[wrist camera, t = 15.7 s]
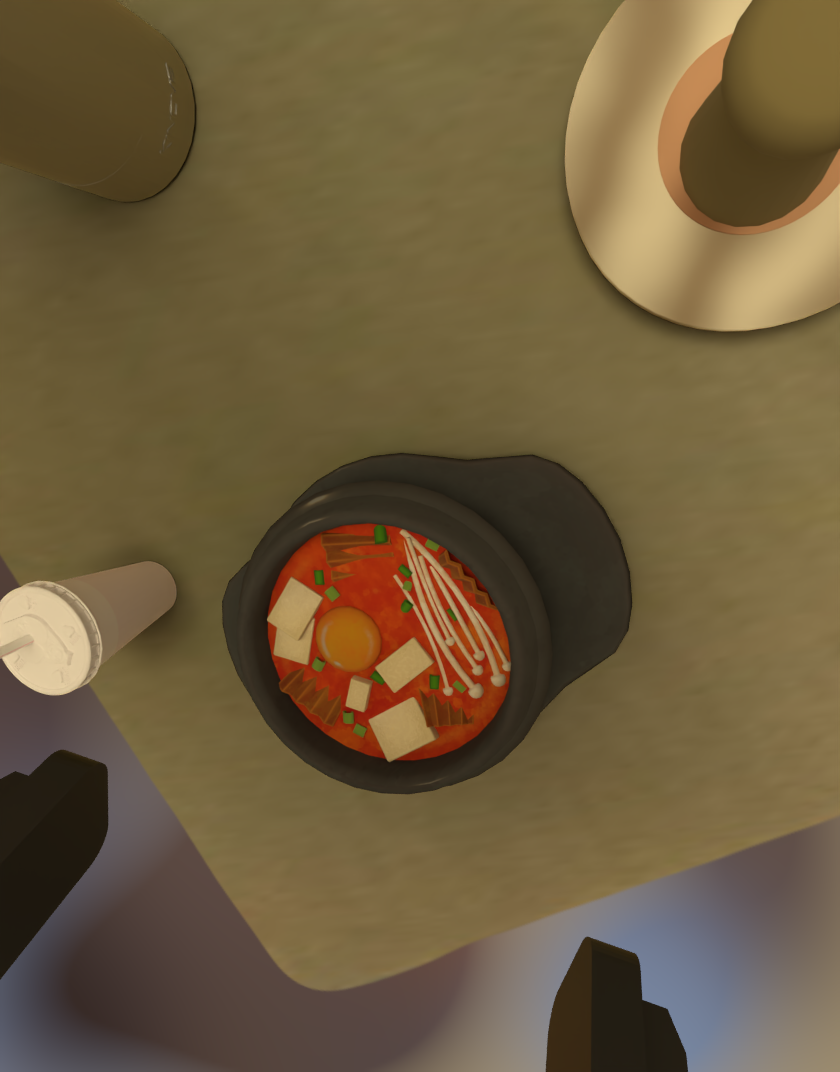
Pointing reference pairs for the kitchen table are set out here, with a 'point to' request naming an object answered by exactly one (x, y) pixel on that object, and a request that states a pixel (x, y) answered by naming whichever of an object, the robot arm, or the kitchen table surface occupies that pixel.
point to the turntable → (657, 189)
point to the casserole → (425, 614)
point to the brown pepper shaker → (768, 115)
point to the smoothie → (79, 623)
